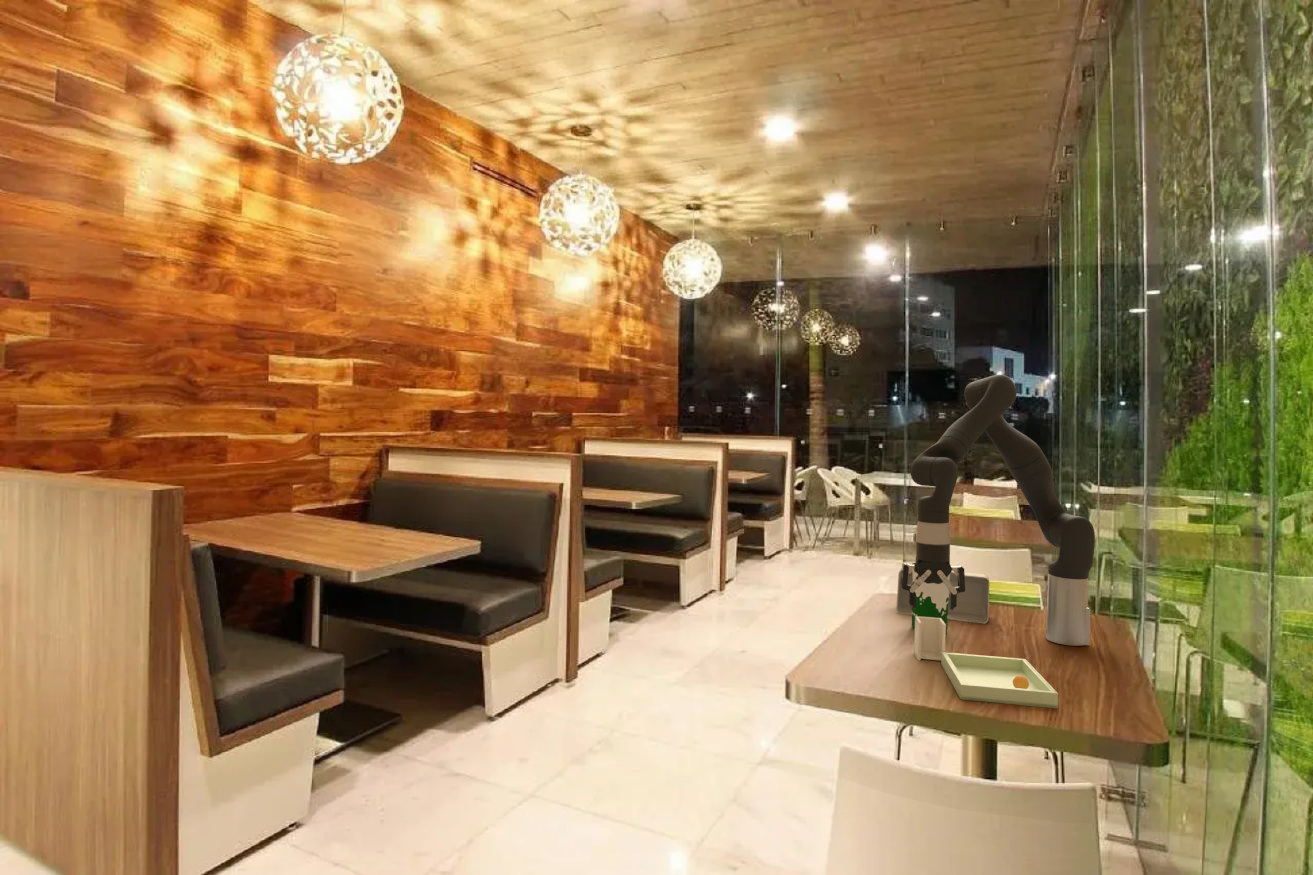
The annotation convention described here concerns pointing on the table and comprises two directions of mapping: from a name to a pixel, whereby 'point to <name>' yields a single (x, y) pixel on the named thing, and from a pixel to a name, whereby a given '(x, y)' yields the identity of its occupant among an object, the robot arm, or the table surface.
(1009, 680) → the tray
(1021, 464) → the robot arm
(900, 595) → the grey rectangular box
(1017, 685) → the mixing ball
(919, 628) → the mini side table
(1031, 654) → the table surface
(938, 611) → the milk carton
